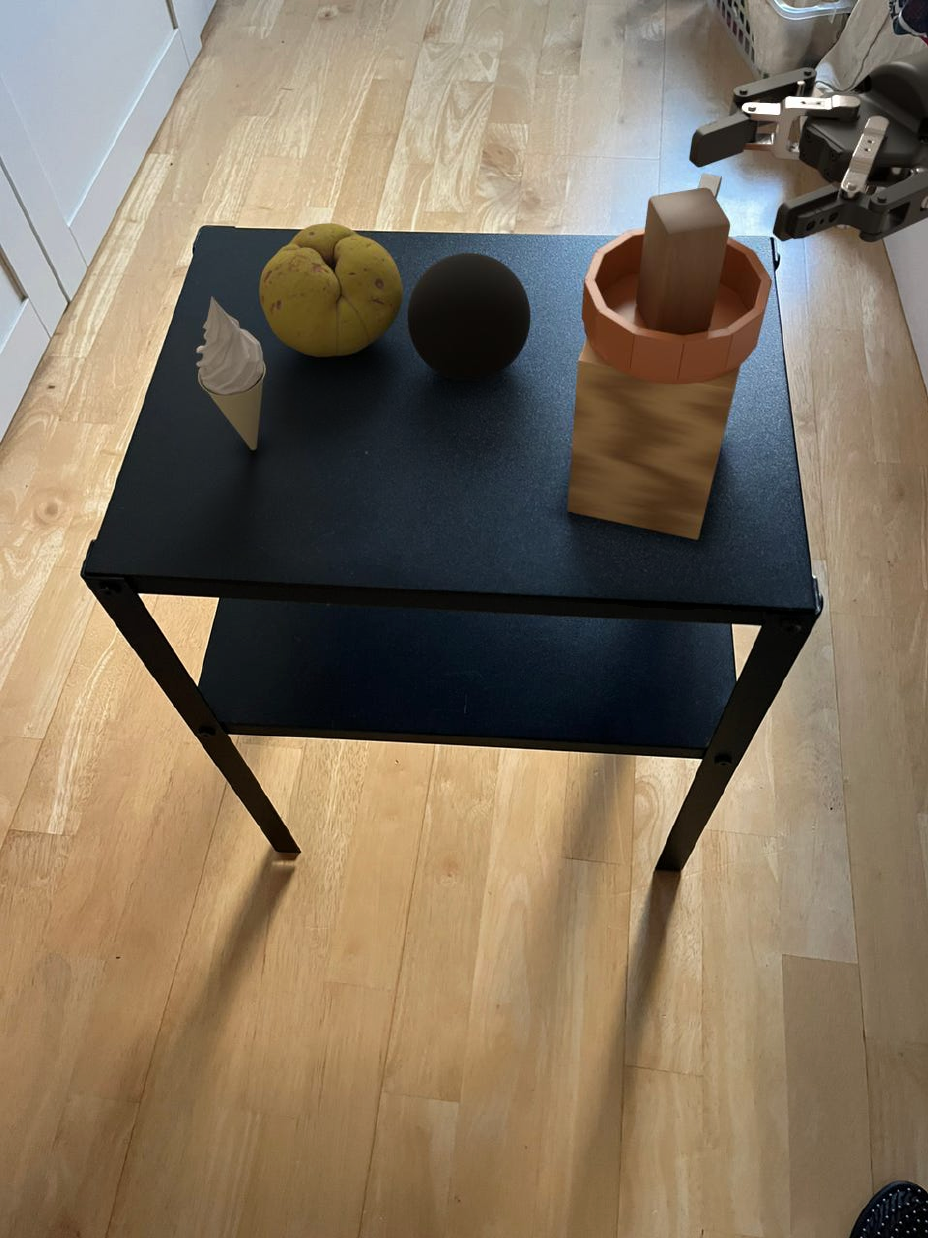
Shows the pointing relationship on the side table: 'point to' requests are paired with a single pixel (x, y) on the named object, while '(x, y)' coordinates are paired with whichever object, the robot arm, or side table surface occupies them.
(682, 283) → the wooden block
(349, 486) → the side table surface
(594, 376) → the stand
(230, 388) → the ice cream cone
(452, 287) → the decorative ball
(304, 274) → the fruit
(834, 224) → the robot arm
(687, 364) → the pan
